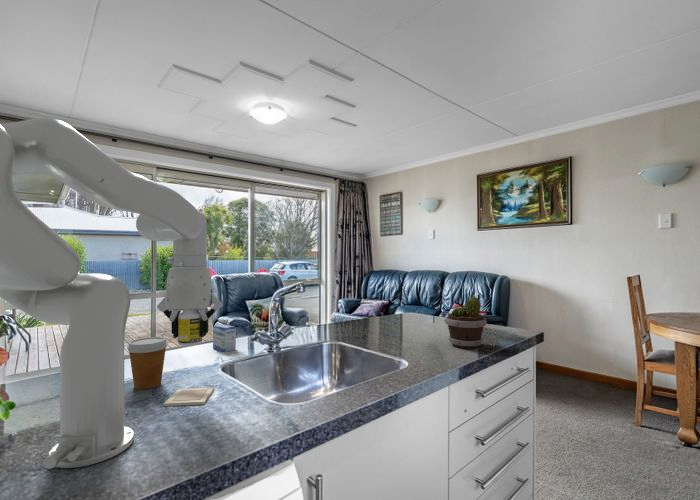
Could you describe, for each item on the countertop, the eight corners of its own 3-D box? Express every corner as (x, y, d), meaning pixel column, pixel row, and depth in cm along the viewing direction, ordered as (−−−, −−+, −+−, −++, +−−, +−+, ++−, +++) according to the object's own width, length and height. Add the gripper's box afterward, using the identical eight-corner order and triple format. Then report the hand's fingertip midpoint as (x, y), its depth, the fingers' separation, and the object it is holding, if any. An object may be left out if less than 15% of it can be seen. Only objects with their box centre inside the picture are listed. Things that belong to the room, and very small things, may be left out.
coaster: (204, 404, 84) (204, 401, 84) (163, 406, 83) (163, 403, 83) (214, 389, 93) (214, 387, 93) (177, 391, 92) (177, 388, 92)
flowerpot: (437, 345, 136) (436, 292, 136) (458, 339, 146) (458, 289, 146) (473, 353, 125) (472, 295, 125) (493, 345, 136) (493, 292, 136)
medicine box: (212, 349, 133) (212, 325, 133) (222, 346, 137) (222, 323, 137) (225, 352, 129) (225, 328, 129) (236, 349, 132) (236, 325, 132)
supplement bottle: (190, 347, 85) (190, 305, 85) (173, 345, 87) (172, 304, 87) (207, 342, 90) (207, 302, 90) (190, 340, 92) (190, 301, 92)
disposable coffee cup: (150, 393, 91) (150, 345, 91) (118, 390, 93) (118, 344, 93) (175, 380, 100) (175, 337, 100) (145, 378, 102) (145, 335, 102)
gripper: (146, 263, 84) (146, 341, 84) (222, 262, 86) (222, 338, 86) (159, 262, 91) (159, 334, 91) (229, 261, 93) (229, 332, 93)
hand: (190, 335), depth 88 cm, fingers closed on supplement bottle, 5 cm apart
